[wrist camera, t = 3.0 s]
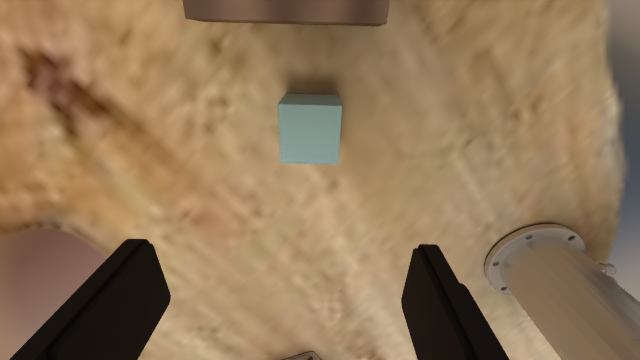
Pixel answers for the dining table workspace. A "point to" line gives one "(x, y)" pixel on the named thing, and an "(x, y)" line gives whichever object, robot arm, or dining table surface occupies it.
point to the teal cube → (310, 128)
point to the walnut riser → (290, 11)
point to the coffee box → (305, 357)
